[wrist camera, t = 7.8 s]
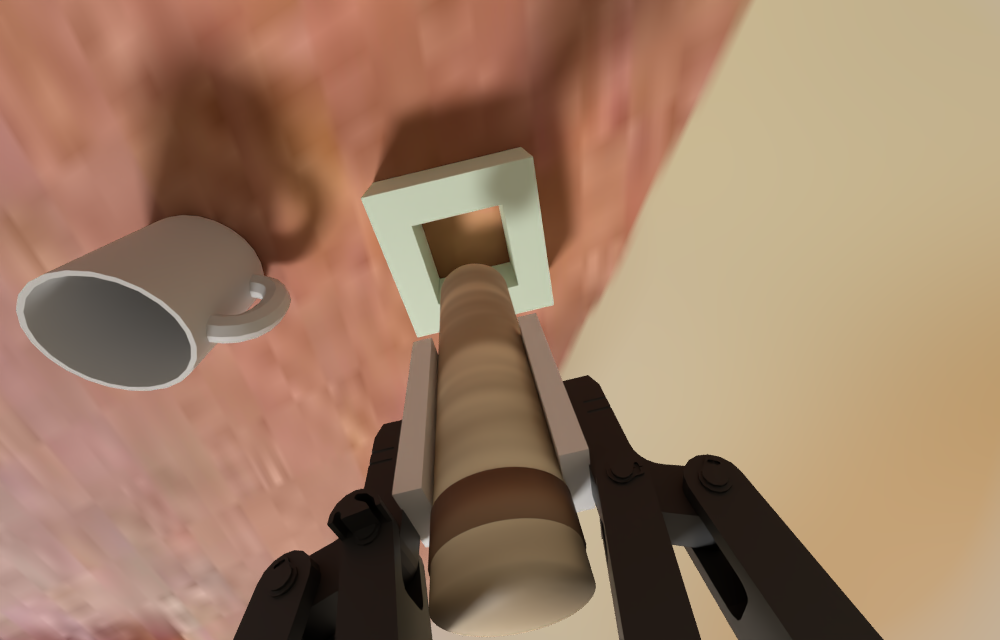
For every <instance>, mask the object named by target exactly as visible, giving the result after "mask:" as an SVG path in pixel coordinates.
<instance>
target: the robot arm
mask: <svg viewBox="0 0 1000 640" xmlns="http://www.w3.org/2000/svg"><path fill="white" fill-rule="evenodd" d="M517 318H518V322H519V327H520V332H521V336H522V340H523V343H524V347H525V350H526V354H527V357H528V360H529V364H530V367H531V371H532V374H533V377H534V381H535V384H536V388H537V391H538V394H539V398H540V401H541V405H542V408H543V411H544V415H545V418H546V422H547V425H548V428H549V432H550V435H551V439H552V442H553V446H554V449H555V452H556V456H557V459H558V463H559V466H560V469H561V473H562V476H563V479H564V481H565V482H566V485H567V486H568V488H569V490H570V492H571V496H572V499H573V502H574V506H575V509H576V512H580V511H585V510H589V509H593V508H595V505H596V507H597V510H598V513H599V516H600V524H601V535H602V539H603V544H604V549H605V555H606V562H607V568H608V574H609V580H610V586H611V592H612V598H613V604H614V610H615V616H616V622H617V628H618V634H619V640H701V638H700V634H699V631H698V628H697V625H696V621H695V618H694V615H693V612H692V608H691V605H690V602H689V599H688V595H687V592H686V589H685V586H684V582H683V579H682V576H681V573H680V570H679V566H678V563H677V560H676V557H675V553H674V550H673V547H672V545H678V546H684V547H685V549H686V551H687V552H688V554H689V556H690V557H691V559H692V561H693V563H694V564H695V566H696V568H697V570H698V571H699V573H700V575H701V576H702V578H703V580H704V581H705V583H706V585H707V587H708V589H709V590H710V592H711V594H712V595H713V597H714V599H715V600H716V602H717V604H718V606H719V607H720V609H721V611H722V613H723V614H724V616H725V618H726V620H727V621H728V623H729V625H730V626H731V628H732V630H733V632H734V633H735V635H736V637H737V638H738V640H883V639H882V637H881V636H880V635H879V634H878V633H877V632H876V630H875V629H874V628H873V627H872V626H871V624H870V623H869V622H868V621H867V620H866V618H865V617H864V616H863V615H862V614H861V613H860V611H859V610H858V609H857V608H856V607H855V606H854V604H853V603H852V602H851V601H850V600H849V598H848V597H847V596H846V595H845V594H844V592H843V591H841V589H840V588H839V587H838V585H837V584H836V583H835V582H834V581H833V580H832V578H831V577H830V576H829V575H828V574H827V573H826V571H825V570H824V569H823V568H822V566H821V565H820V564H819V563H818V562H817V561H816V559H815V558H814V557H813V556H812V555H811V553H810V552H809V551H808V550H807V549H806V548H805V546H804V545H803V544H802V543H801V542H800V540H799V539H798V538H797V537H796V536H795V535H794V533H793V532H792V531H791V530H790V529H789V528H788V526H787V525H786V524H785V523H784V522H783V520H782V519H781V518H780V517H779V516H778V514H777V513H776V512H775V511H774V510H773V509H772V507H771V506H770V505H769V504H768V503H767V501H766V500H765V499H764V498H763V497H762V496H761V494H760V493H759V492H758V491H757V490H756V489H755V487H754V486H753V485H752V484H751V483H750V481H749V480H748V479H747V478H746V477H745V475H744V474H743V473H742V472H741V471H740V470H739V469H738V468H737V467H736V466H735V465H733V464H732V463H731V462H729V461H727V460H725V459H723V458H721V457H718V456H713V455H708V454H707V455H698V456H695V457H694V458H692V459H690V460H689V461H688V462H687V464H686V465H685V466H679V465H665V464H658V463H654V462H651V461H649V460H646V459H644V458H643V457H641V456H640V455H638V454H637V453H636V452H635V451H634V450H633V448H632V447H631V445H630V444H629V442H628V440H627V438H626V436H625V434H624V432H623V430H622V428H621V426H620V424H619V422H618V420H617V418H616V416H615V415H614V412H613V410H612V408H611V407H610V404H609V402H608V400H607V399H606V397H605V395H604V393H603V391H602V389H601V387H600V385H599V384H598V383H597V382H596V381H595V380H593V379H592V378H591V377H590V376H588V375H587V376H583V377H579V378H574V379H570V380H566V381H562V379H561V376H560V374H559V371H558V368H557V366H556V363H555V361H554V358H553V356H552V353H551V350H550V348H549V345H548V343H547V340H546V338H545V335H544V332H543V330H542V327H541V325H540V322H539V320H538V317H537V314H536V313H534V314H530V315H525V316H521V317H517ZM437 380H438V353H437V351H436V348H435V345H434V343H433V340H432V338H429V339H424V340H420V341H416V342H413V347H412V354H411V362H410V369H409V376H408V383H407V390H406V397H405V404H404V412H403V419H402V420H400V421H396V422H391V423H387V424H383V426H382V427H381V429H380V430H379V432H378V434H377V435H376V437H375V439H374V444H373V449H372V455H371V458H370V466H369V468H368V473H367V477H366V482H365V487H364V489H360V490H355V491H353V492H352V493H350V494H348V495H346V496H345V497H344V498H343V499H342V500H341V501H339V502H338V503H337V504H336V506H335V507H334V509H333V511H332V512H331V514H330V516H329V520H328V523H327V525H328V526H329V527H330V528H331V530H332V531H333V532H334V533H335V534H336V535H337V536H338V537H339V539H337V540H336V541H334V542H333V543H331V544H329V545H327V546H326V547H324V548H322V549H320V550H319V551H317V552H315V553H313V554H311V555H310V556H309V555H307V554H306V553H305V552H304V551H297V550H294V551H291V552H288V553H286V554H284V555H282V556H281V557H279V558H278V559H277V560H275V561H274V562H273V563H272V564H271V565H270V566H269V567H268V568H267V570H266V571H265V572H264V573H263V575H262V577H261V579H260V580H259V582H258V584H257V586H256V588H255V591H254V593H253V595H252V598H251V600H250V602H249V604H248V607H247V609H246V611H245V614H244V616H243V618H242V621H241V623H240V625H239V628H238V630H237V632H236V634H235V637H234V639H233V640H432V633H431V623H430V615H429V605H428V597H427V588H426V579H425V570H424V565H423V562H422V559H421V557H420V556H419V546H420V539H421V541H422V543H423V544H424V546H425V547H429V537H430V513H431V509H432V506H433V486H434V459H435V433H436V406H437Z"/></svg>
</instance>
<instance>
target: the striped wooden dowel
mask: <svg viewBox="0 0 1000 640" xmlns="http://www.w3.org/2000/svg"><path fill="white" fill-rule="evenodd" d="M428 572H429V576H430V592H429V615H430V618H431V619H432V621H433V622H434V623H435V624H436V625H437V626H439V627H440V628H442V629H444V630H446V631H449V632H452V633H455V634H460V635H465V636H474V637H497V636H508V635H514V634H520V633H525V632H529V631H533V630H537V629H540V628H543V627H546V626H549V625H552V624H555V623H557V622H559V621H561V620H563V619H565V618H567V617H569V616H571V615H573V614H574V613H576V612H577V611H579V610H580V609H581V608H582V607H584V606H585V605H586V604H587V603H588V602H589V600H590V599H591V598H592V596H593V594H594V592H595V588H596V585H595V584H596V583H595V580H594V577H593V573H592V570H591V567H590V563H589V560H588V556H587V553H586V542H585V539H584V535H583V532H582V529H581V526H580V523H579V519H578V516H577V512H576V509H575V506H574V502H573V499H572V496H571V492H570V490H569V488H568V486H567V485H566V482H565V481H564V479H563V476H562V473H561V469H560V466H559V463H558V459H557V456H556V452H555V449H554V446H553V442H552V439H551V435H550V432H549V428H548V425H547V422H546V418H545V415H544V411H543V408H542V405H541V401H540V398H539V394H538V391H537V388H536V384H535V381H534V377H533V374H532V371H531V367H530V364H529V360H528V357H527V354H526V350H525V347H524V343H523V340H522V336H521V332H520V327H519V324H518V321H517V317H516V314H515V311H514V307H513V304H512V301H511V297H510V294H509V290H508V287H507V284H506V281H505V279H504V278H503V276H502V275H501V274H500V273H499V272H498V271H497V270H495V269H494V268H492V267H490V266H487V265H484V264H476V263H475V264H467V265H463V266H461V267H458V268H457V269H455V270H453V271H452V272H451V273H450V274H449V275H448V276H447V277H446V279H445V280H444V282H443V285H442V288H441V300H440V327H439V353H438V380H437V406H436V433H435V459H434V486H433V506H432V509H431V513H430V537H429V560H428Z"/></svg>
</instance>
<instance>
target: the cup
mask: <svg viewBox="0 0 1000 640" xmlns="http://www.w3.org/2000/svg"><path fill="white" fill-rule="evenodd" d="M257 298H260V299H262V300H261V301H260V302H259V304H257V305H256V306H255V307H253V308H252V309H250V310H248V311H246V310H247V309H248V308H249V307H250V306H251V305H252V304H253V303H254V302H255V300H256V299H257ZM290 302H291V298H290V295H289V292H288V290H287V288H286V287H285V285H284V284H282V283H281V282H280V281H279V280H277V279H274V278H271V277H268V276H264V273H263V269H262V265H261V262H260V260H259V258H258V256H257V255H256V253H255V251H254V249H253V248H252V247H251V246H250V245H249V244H248V243H247V241H246V240H245V239H244V238H242V237H241V236H240V235H238V234H237V233H236V232H235V231H233V230H232V229H230V228H228V227H226V226H224V225H222V224H220V223H218V222H216V221H214V220H210V219H207V218H203V217H200V216H190V215H179V216H173V217H167V218H164V219H162V220H159V221H157V222H155V223H152V224H150V225H148V226H146V227H144V228H142V229H140V230H137V231H135V232H133V233H131V234H129V235H127V236H125V237H122V238H120V239H118V240H116V241H114V242H112V243H110V244H107V245H105V246H103V247H101V248H99V249H97V250H95V251H92V252H90V253H88V254H86V255H84V256H82V257H80V258H77V259H75V260H73V261H71V262H69V263H67V264H65V265H62V266H60V267H58V268H56V269H54V270H52V271H50V272H47V273H45V274H43V275H41V276H39V277H38V278H36V279H34V280H32V281H30V282H28V283H27V284H26V286H25V287H24V288H23V289H22V291H21V292H20V293H19V295H18V300H17V306H16V312H17V316H18V319H19V323H20V326H21V328H22V329H23V331H24V332H25V334H26V335H27V337H28V338H29V340H30V341H31V343H32V344H34V345H35V346H36V347H37V348H38V349H39V350H40V351H41V352H42V353H43V354H44V355H45V356H46V357H47V358H49V359H50V360H52V361H53V362H55V363H56V364H58V365H59V366H61V367H62V368H64V369H65V370H67V371H69V372H71V373H73V374H76V375H78V376H80V377H82V378H84V379H86V380H89V381H92V382H95V383H98V384H101V385H105V386H108V387H113V388H119V389H125V390H136V391H151V390H156V389H162V388H167V387H170V386H172V385H174V384H176V383H179V382H181V381H182V380H183V379H184V378H186V377H187V376H188V375H189V374H190V373H191V372H192V371H193V370H194V369H195V367H196V366H197V365H198V364H199V363H200V362H201V361H202V360H203V359H204V357H205V356H206V355H207V354H208V353H209V352H210V351H211V350H212V348H213V347H214V346H215V345H216V344H217V343H237V342H243V341H247V340H250V339H254V338H257V337H259V336H261V335H263V334H265V333H267V332H269V331H270V330H272V329H273V328H274V327H275V326H276V325H277V324H279V323H280V321H281V320H282V318H283V317H284V316H285V314H286V312H287V310H288V308H289V305H290Z"/></svg>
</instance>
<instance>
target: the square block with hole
mask: <svg viewBox="0 0 1000 640" xmlns="http://www.w3.org/2000/svg"><path fill="white" fill-rule="evenodd" d="M361 200H362V202H363V205H364V207H365V210H366V212H367V214H368V217H369V219H370V222H371V224H372V227H373V229H374V232H375V234H376V237H377V239H378V241H379V244H380V246H381V249H382V251H383V254H384V256H385V259H386V261H387V264H388V266H389V268H390V271H391V273H392V276H393V278H394V281H395V283H396V286H397V288H398V290H399V293H400V295H401V298H402V300H403V303H404V305H405V308H406V310H407V313H408V315H409V317H410V320H411V322H412V325H413V327H414V330H415V332H416V335H417V337H422V336H426V335H430V334H434V333H438V332H439V327H440V300H441V288H442V285H443V282H444V280H445V279H446V277H445V278H441V279H440V278H439V275H438V272H437V269H436V266H435V263H434V260H433V257H432V254H431V251H430V248H429V245H428V242H427V239H426V236H425V233H424V230H423V227H422V224H423V223H427V222H431V221H435V220H439V219H444V218H448V217H452V216H456V215H460V214H464V213H468V212H473V211H477V210H481V209H485V208H489V207H493V206H498V205H499V210H500V215H501V219H502V224H503V229H504V234H505V239H506V244H507V249H508V254H509V259H510V262H508V263H503V264H499V265H495V266H491V267H492V268H494V269H495V270H497V271H498V272H499V273H500V274H501V275H502V276H503V278H504V279H505V281H506V284H507V287H508V290H509V294H510V297H511V301H512V304H513V307H514V311H515V314H518V313H522V312H526V311H531V310H535V309H539V308H543V307H547V306H552V305H554V302H553V295H552V288H551V281H550V274H549V267H548V260H547V253H546V246H545V238H544V231H543V224H542V217H541V210H540V203H539V196H538V189H537V182H536V175H535V168H534V161H533V156H532V155H530V154H529V153H528V152H527V151H525V150H524V149H523V148H522V147H518V148H514V149H510V150H506V151H502V152H498V153H494V154H489V155H485V156H481V157H477V158H473V159H469V160H465V161H461V162H456V163H452V164H448V165H444V166H440V167H436V168H432V169H427V170H423V171H419V172H415V173H411V174H407V175H403V176H399V177H394V178H390V179H386V180H382V181H378V182H374V183H372V185H371V186H370V187H369V188H368V190H367V191H366V192H365V194H364V195H363V196H362V197H361Z"/></svg>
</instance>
